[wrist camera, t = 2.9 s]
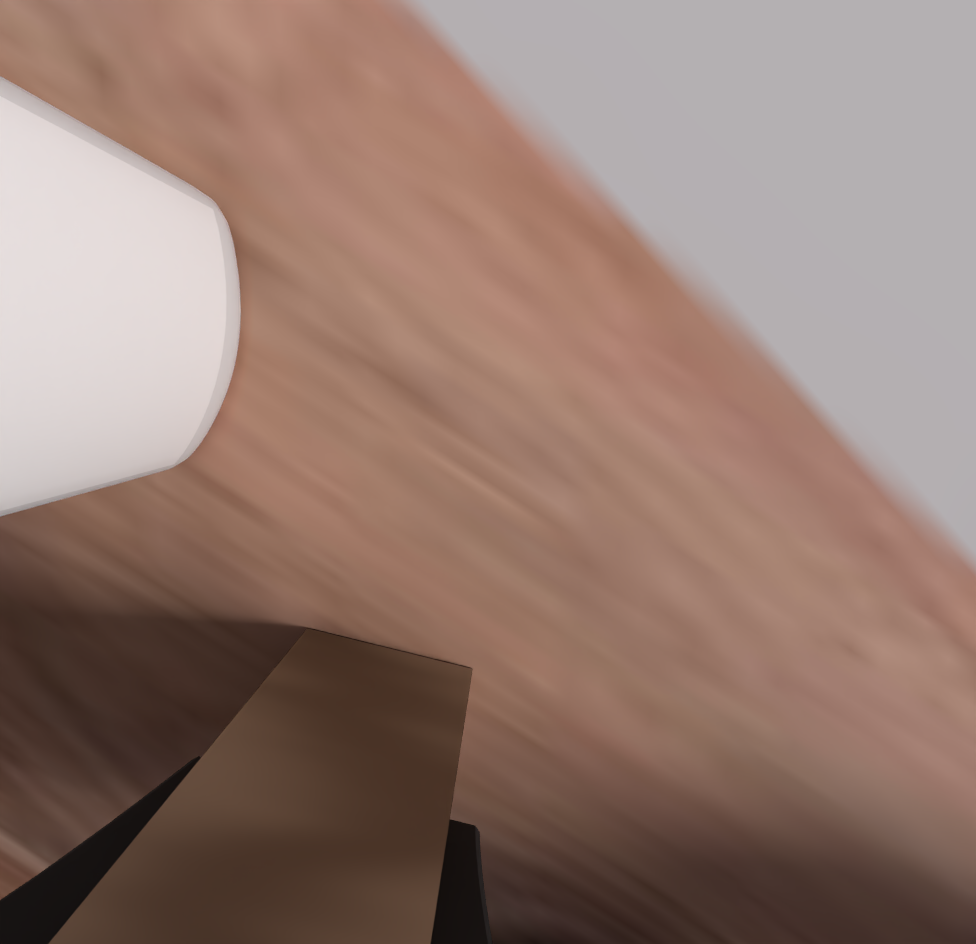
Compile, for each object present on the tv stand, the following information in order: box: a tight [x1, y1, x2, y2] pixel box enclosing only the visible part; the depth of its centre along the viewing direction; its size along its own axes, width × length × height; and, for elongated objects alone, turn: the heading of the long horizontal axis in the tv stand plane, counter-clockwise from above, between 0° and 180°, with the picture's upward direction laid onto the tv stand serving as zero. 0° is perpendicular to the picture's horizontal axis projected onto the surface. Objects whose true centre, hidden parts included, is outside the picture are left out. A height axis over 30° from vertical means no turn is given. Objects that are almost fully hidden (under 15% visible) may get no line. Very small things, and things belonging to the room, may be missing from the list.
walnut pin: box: [49, 628, 473, 944], centre depth 7 cm, size 4×4×9 cm
